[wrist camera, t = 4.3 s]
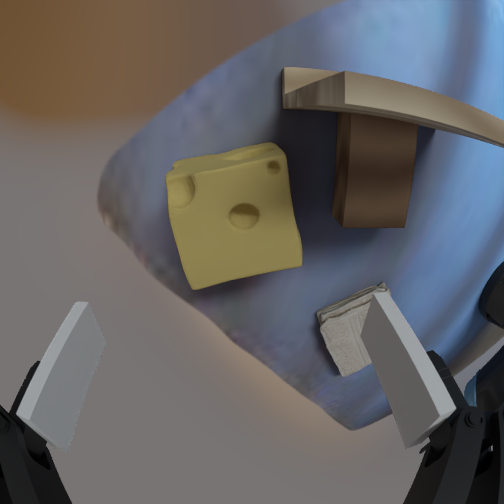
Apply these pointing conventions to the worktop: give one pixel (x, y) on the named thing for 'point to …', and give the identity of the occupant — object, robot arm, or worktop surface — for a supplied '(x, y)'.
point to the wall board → (379, 137)
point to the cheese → (233, 215)
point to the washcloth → (348, 329)
